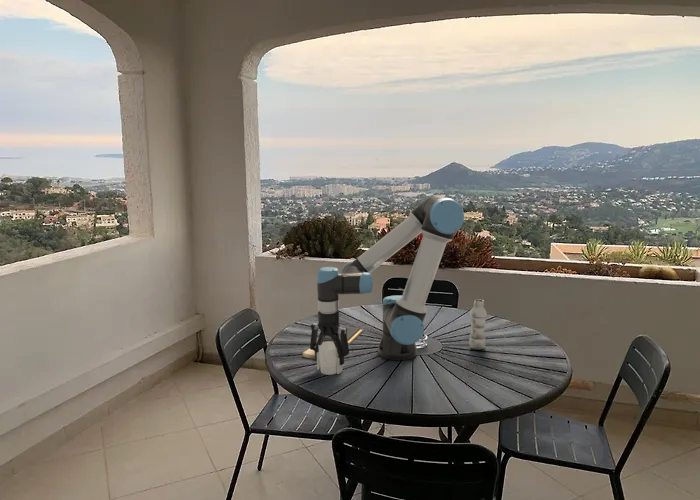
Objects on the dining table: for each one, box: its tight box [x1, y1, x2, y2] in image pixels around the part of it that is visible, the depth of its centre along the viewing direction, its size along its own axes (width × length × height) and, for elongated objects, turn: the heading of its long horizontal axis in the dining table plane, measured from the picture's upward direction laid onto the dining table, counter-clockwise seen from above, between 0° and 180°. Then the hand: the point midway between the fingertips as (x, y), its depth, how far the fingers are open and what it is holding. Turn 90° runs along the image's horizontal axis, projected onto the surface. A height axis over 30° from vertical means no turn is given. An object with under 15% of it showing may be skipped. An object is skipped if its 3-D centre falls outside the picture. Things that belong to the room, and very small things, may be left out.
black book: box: [323, 325, 366, 346], centre depth 230 cm, size 20×2×15 cm
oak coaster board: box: [302, 347, 315, 360], centre depth 210 cm, size 12×12×2 cm
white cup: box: [318, 341, 339, 376], centre depth 194 cm, size 8×8×10 cm
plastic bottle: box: [468, 298, 488, 351], centre depth 212 cm, size 6×7×20 cm
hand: (329, 370), depth 195 cm, fingers closed on white cup, 8 cm apart
